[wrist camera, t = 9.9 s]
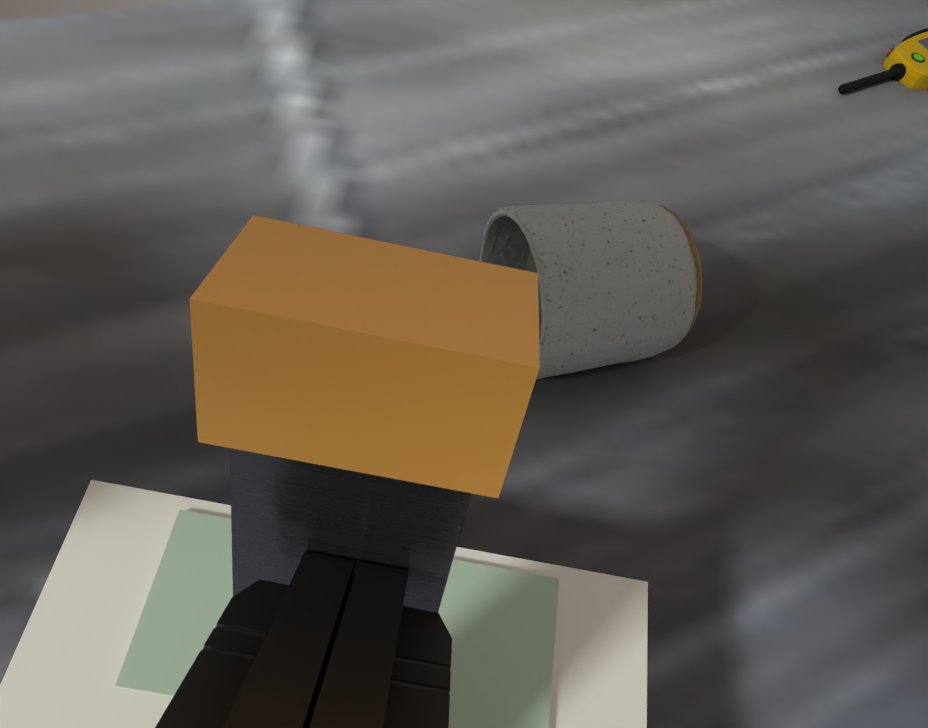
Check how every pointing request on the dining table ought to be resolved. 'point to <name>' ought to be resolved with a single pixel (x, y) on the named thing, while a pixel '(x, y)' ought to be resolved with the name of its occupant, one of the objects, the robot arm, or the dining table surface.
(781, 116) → the dining table surface
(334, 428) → the lever
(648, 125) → the dining table surface
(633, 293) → the ceramic mug
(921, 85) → the yellow walkie-talkie
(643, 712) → the switch box
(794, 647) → the dining table surface
